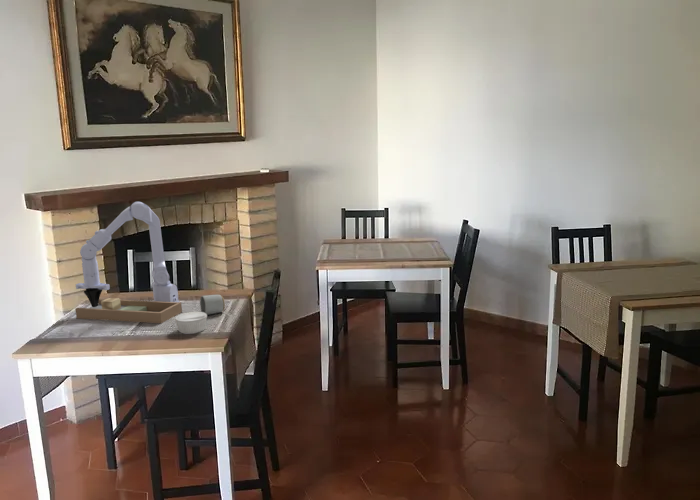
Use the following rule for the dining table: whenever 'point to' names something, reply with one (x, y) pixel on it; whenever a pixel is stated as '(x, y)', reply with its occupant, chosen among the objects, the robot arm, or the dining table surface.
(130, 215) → the robot arm
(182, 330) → the ramekin
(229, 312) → the dining table surface
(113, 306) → the wood block
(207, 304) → the ceramic mug
